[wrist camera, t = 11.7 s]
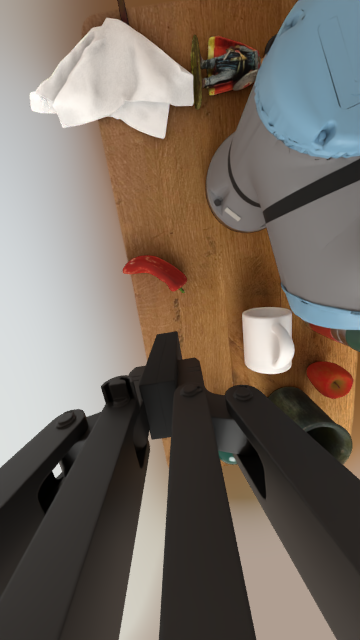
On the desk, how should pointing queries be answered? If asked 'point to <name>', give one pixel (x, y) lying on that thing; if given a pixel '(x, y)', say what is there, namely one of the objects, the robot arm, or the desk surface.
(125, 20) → the dark brown stick
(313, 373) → the apple
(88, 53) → the cloth
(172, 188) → the desk surface
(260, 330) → the mug
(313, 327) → the tin low
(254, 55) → the figurine
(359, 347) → the tin top
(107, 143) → the desk surface
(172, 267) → the vegetable
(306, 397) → the mug
